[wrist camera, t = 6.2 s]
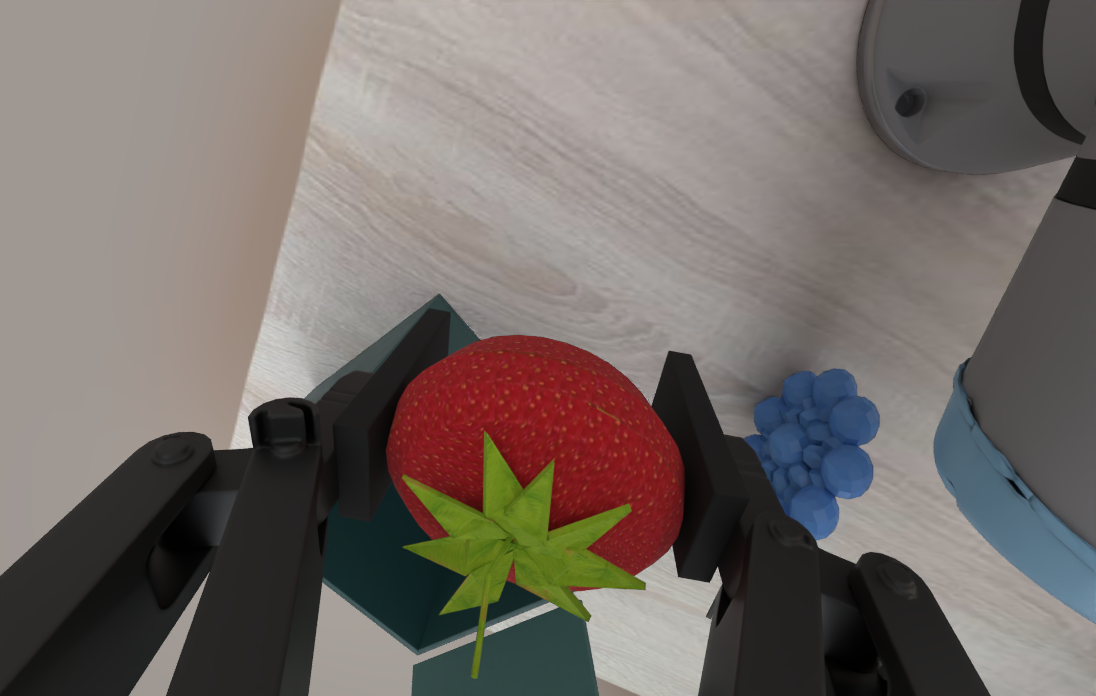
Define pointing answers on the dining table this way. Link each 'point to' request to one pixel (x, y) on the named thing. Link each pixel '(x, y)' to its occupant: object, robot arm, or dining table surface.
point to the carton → (404, 541)
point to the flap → (517, 662)
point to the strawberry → (534, 473)
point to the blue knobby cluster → (816, 445)
